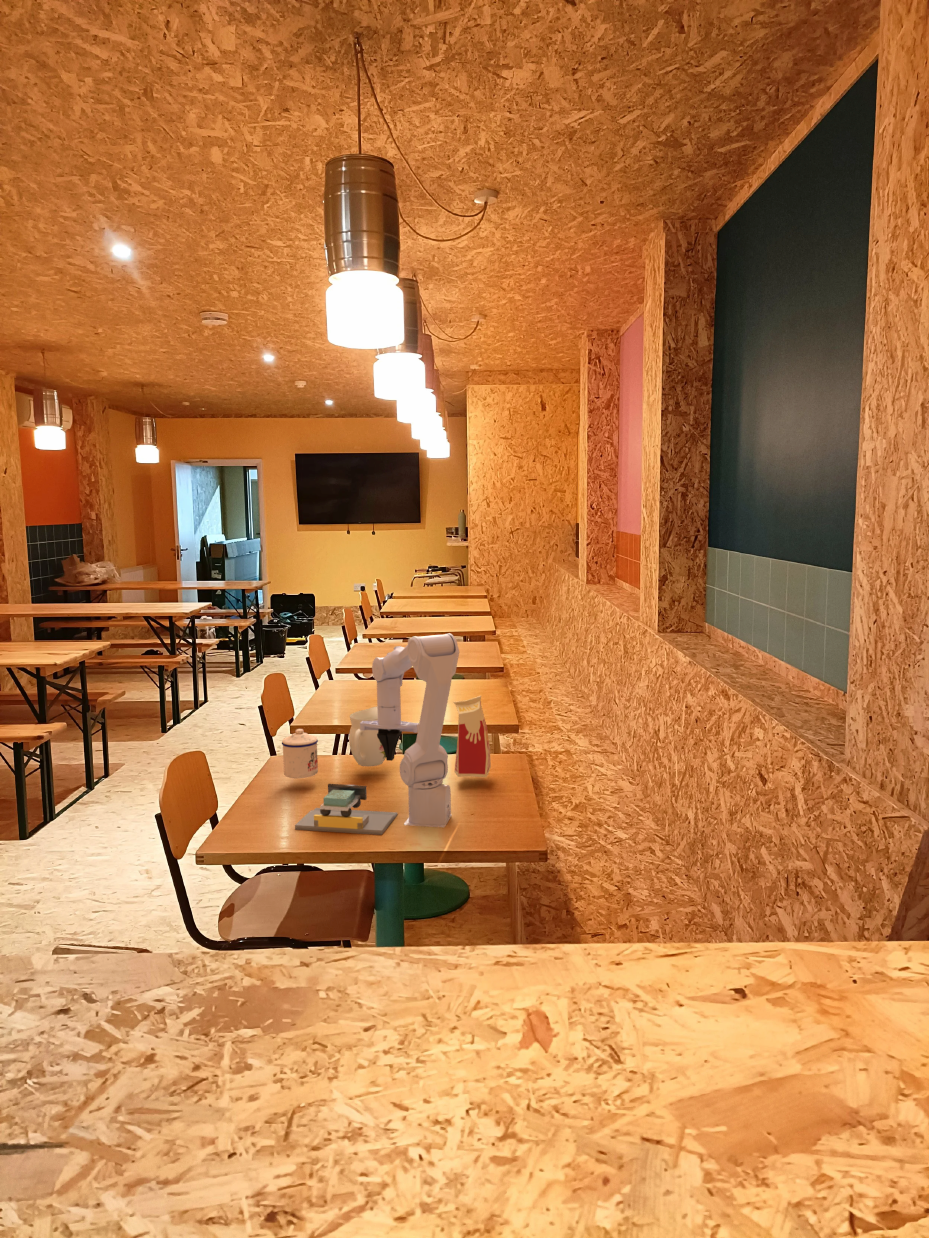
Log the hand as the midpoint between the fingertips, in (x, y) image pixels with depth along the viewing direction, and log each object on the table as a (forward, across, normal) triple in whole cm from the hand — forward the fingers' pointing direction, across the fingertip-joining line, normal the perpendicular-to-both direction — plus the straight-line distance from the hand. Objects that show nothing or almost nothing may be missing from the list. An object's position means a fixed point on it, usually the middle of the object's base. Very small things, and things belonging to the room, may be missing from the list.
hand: (390, 759), depth 197 cm
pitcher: (+6, +10, -15) cm, 19 cm away
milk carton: (+6, -18, -12) cm, 23 cm away
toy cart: (+6, +5, +21) cm, 23 cm away
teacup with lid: (+6, +26, -5) cm, 27 cm away
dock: (+9, +5, +18) cm, 21 cm away
